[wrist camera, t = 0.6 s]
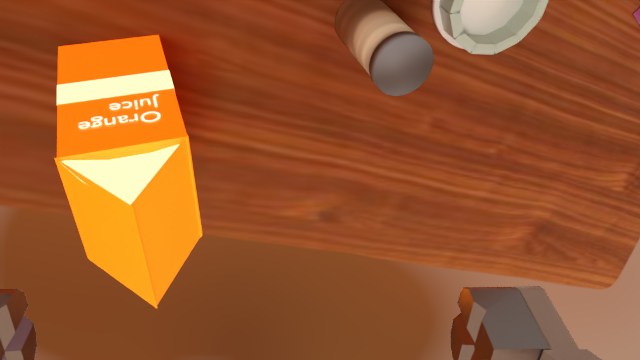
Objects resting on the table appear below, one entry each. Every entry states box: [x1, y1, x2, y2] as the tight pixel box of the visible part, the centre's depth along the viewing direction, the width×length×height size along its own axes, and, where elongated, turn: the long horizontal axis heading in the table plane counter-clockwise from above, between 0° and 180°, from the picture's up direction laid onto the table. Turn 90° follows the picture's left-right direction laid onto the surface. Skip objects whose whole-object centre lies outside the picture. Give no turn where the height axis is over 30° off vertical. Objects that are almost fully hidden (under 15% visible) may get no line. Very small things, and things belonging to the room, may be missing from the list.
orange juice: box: [54, 35, 202, 308], centre depth 40 cm, size 8×9×20 cm
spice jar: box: [335, 0, 434, 96], centre depth 48 cm, size 5×5×9 cm
